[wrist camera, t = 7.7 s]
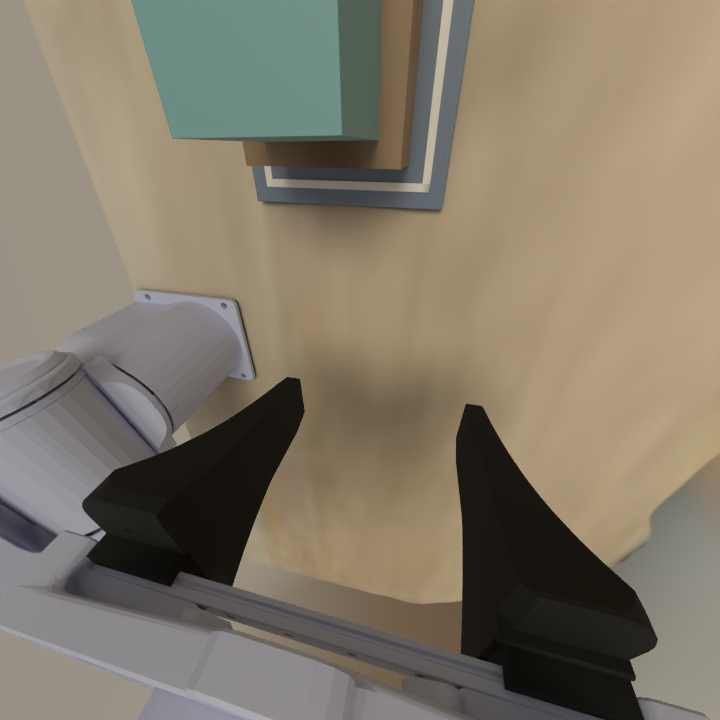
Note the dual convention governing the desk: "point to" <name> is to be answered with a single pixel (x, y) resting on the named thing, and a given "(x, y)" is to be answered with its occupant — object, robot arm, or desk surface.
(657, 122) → the desk surface
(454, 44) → the mat
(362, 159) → the walnut base block
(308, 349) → the desk surface
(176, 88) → the teal block
